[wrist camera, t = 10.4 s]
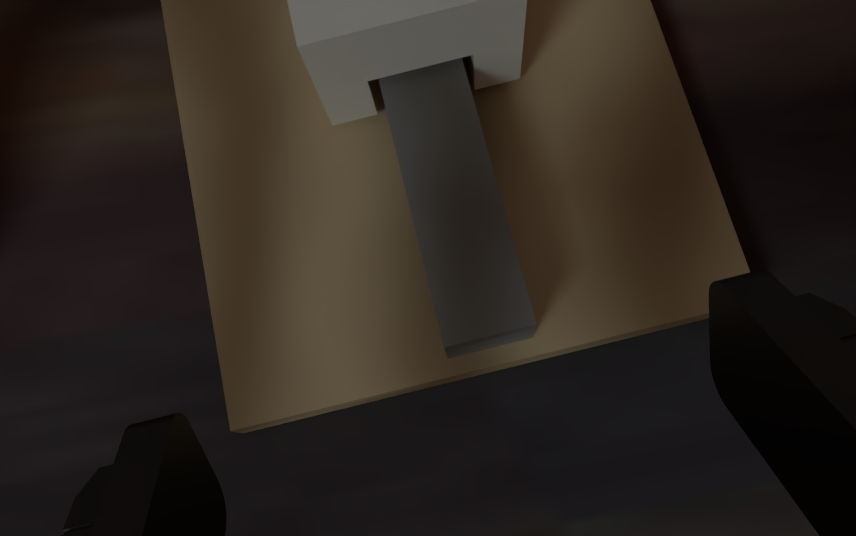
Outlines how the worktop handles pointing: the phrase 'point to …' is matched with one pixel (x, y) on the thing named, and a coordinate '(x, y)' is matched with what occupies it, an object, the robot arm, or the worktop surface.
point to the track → (354, 226)
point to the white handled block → (402, 44)
